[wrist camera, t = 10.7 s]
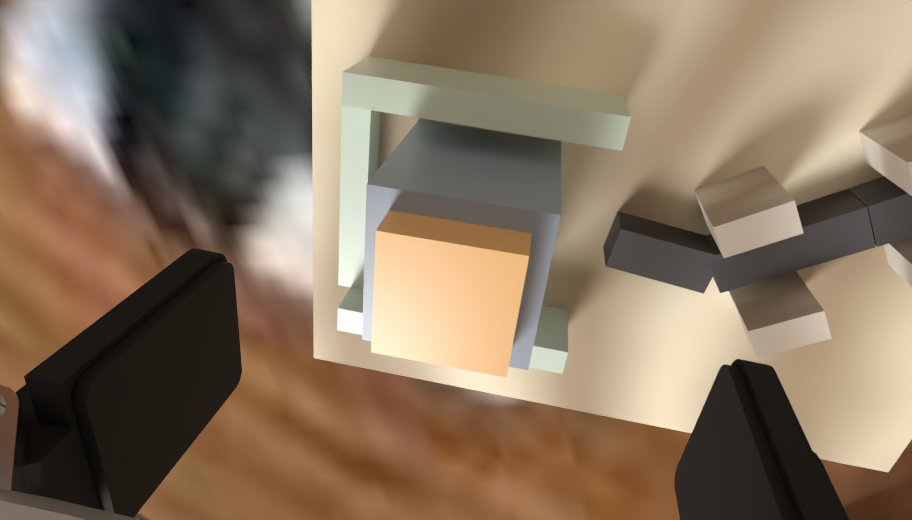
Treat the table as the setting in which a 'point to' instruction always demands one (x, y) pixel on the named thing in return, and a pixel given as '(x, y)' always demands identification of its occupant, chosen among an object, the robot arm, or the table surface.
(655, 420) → the board
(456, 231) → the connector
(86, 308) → the table surface
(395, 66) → the bracket
